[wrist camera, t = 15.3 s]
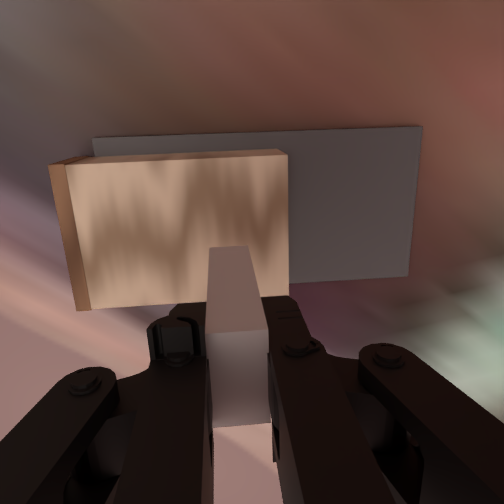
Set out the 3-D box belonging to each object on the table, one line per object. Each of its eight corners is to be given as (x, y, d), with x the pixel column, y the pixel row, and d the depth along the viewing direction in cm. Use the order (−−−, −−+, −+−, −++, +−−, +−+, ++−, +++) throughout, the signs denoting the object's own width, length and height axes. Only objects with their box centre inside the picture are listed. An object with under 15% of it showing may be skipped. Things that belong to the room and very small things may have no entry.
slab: (277, 147, 25) (75, 156, 24) (288, 153, 21) (47, 164, 20) (279, 270, 27) (97, 282, 27) (289, 296, 24) (76, 311, 23)
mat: (94, 137, 24) (91, 138, 24) (418, 126, 26) (422, 126, 25) (117, 290, 27) (115, 294, 27) (403, 273, 29) (407, 276, 28)
